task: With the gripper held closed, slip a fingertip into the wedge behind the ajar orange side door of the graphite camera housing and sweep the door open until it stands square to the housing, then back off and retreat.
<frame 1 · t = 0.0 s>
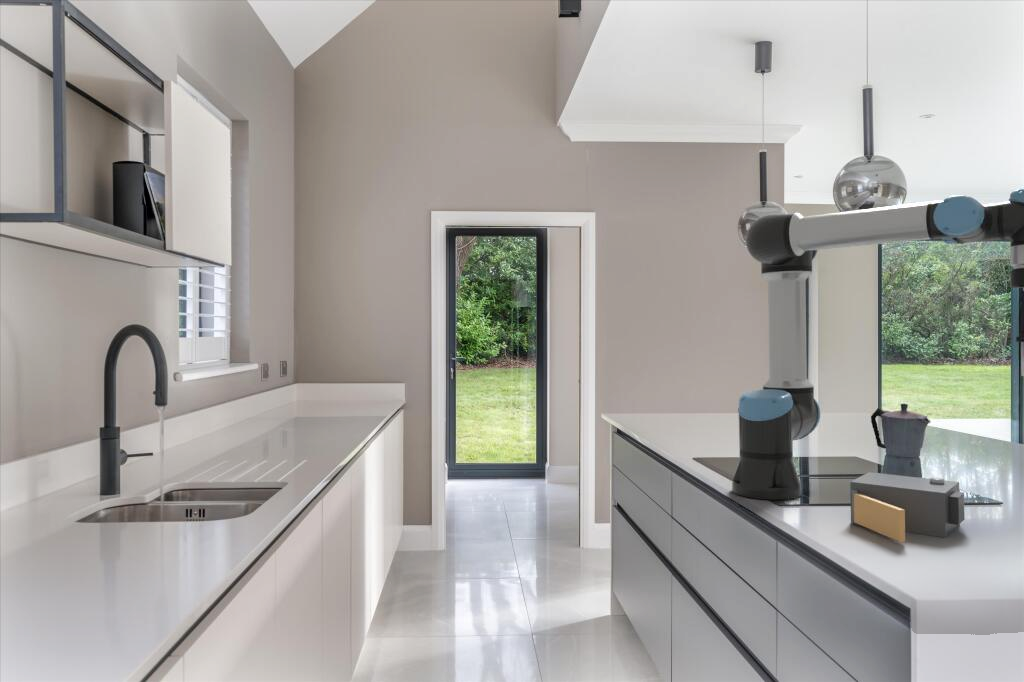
side door: (876, 515, 131), point 3 cm above the worktop, hinge at 40.0°
camera housing: (904, 523, 138), on the worktop
moka pot: (899, 488, 168), on the worktop
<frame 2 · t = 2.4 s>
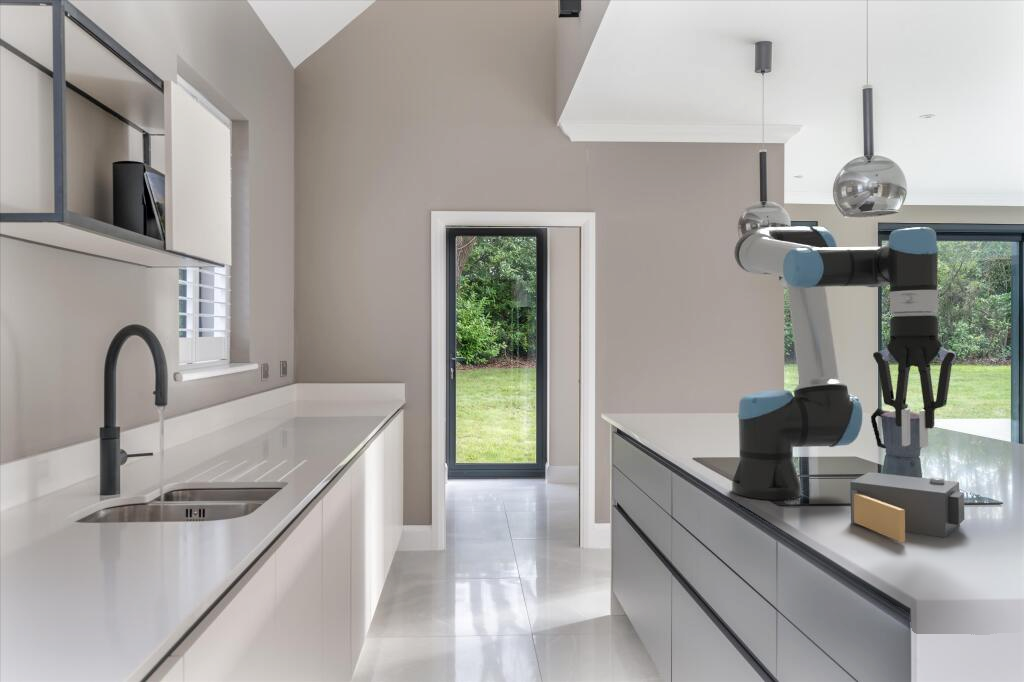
hand: (915, 445, 129), 16 cm above the worktop, fingers open, 2 cm apart
nothing on the worktop moved.
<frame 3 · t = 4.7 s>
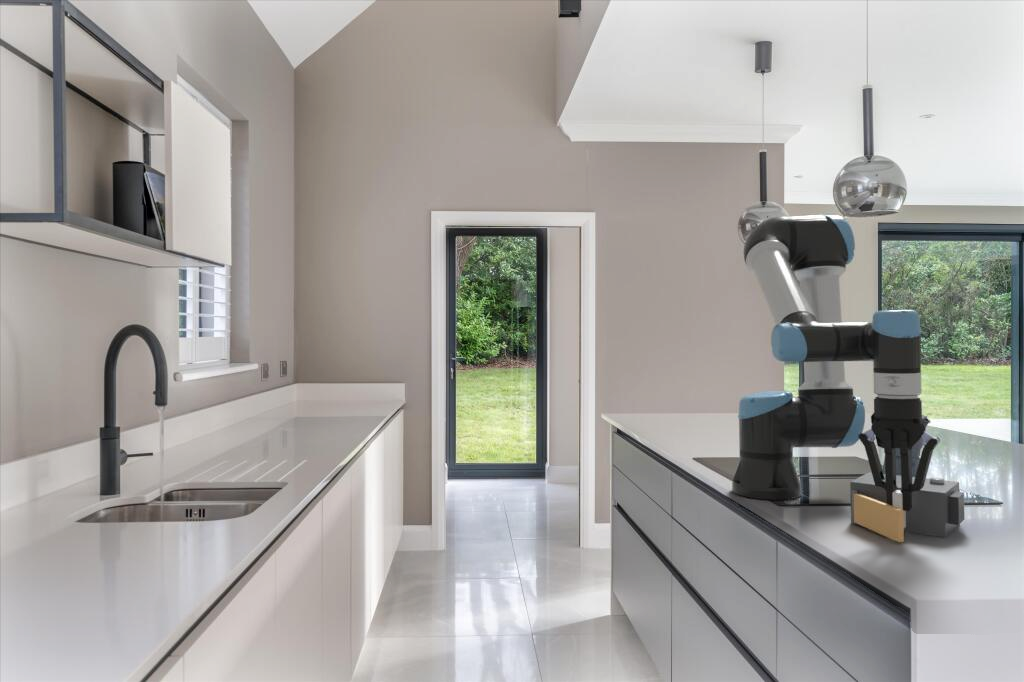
hand: (899, 527, 128), 2 cm above the worktop, fingers closed
side door: (875, 515, 131), point 3 cm above the worktop, hinge at 41.2°, touching gripper
everything else where it was.
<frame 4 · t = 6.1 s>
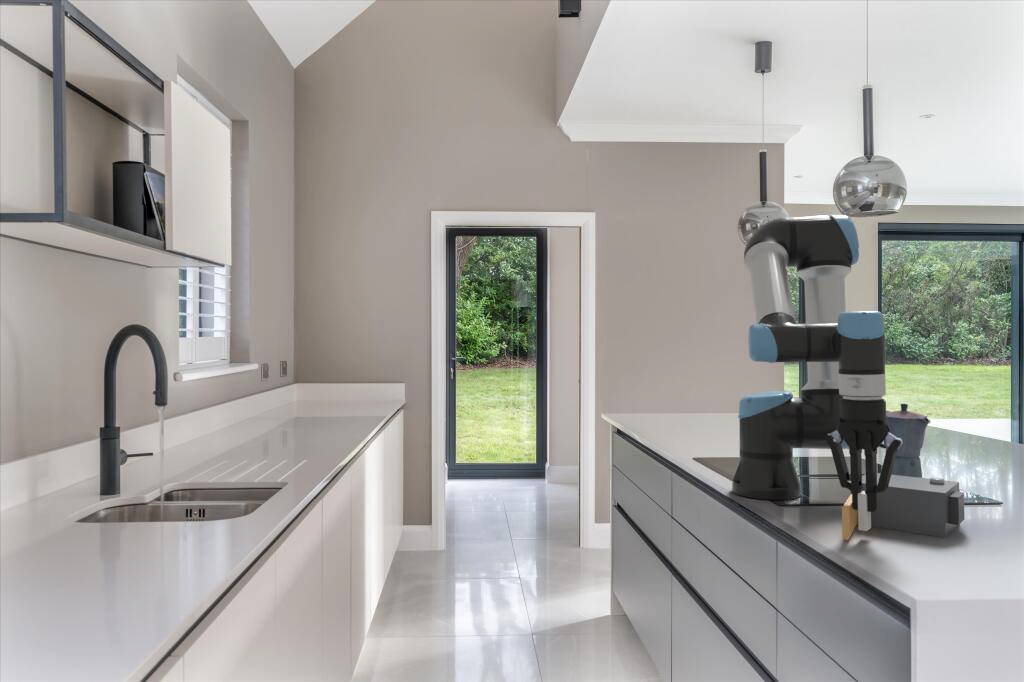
hand: (864, 528, 128), 2 cm above the worktop, fingers closed
side door: (850, 514, 132), point 3 cm above the worktop, hinge at 80.0°, touching gripper
everything else where it was.
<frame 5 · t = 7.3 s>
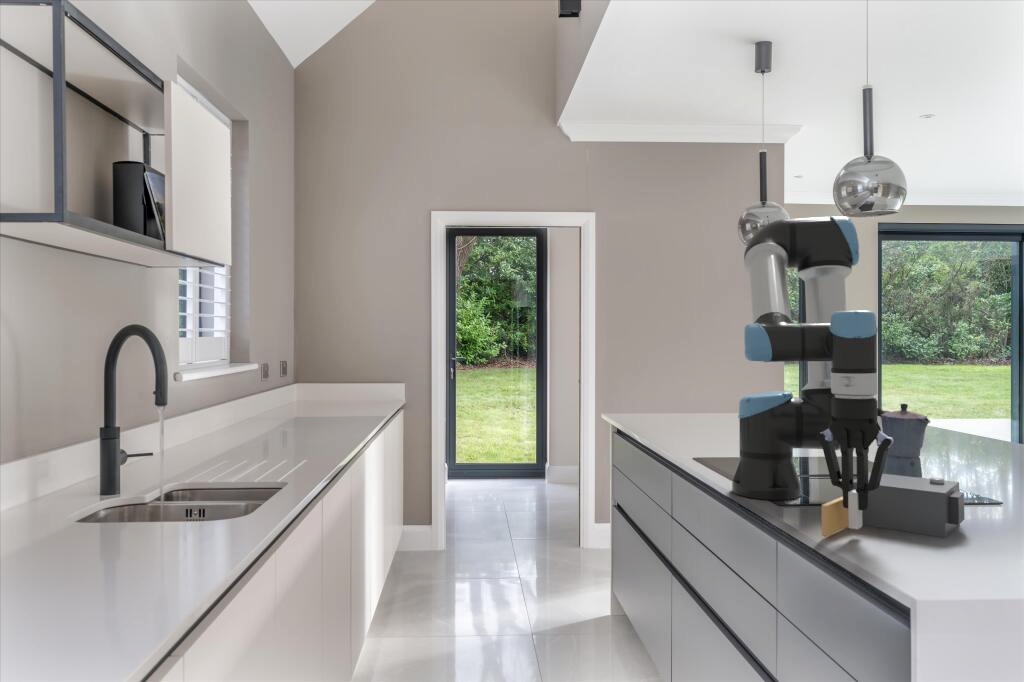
hand: (855, 527, 129), 2 cm above the worktop, fingers closed
side door: (840, 513, 133), point 3 cm above the worktop, hinge at 94.7°
everything else where it was.
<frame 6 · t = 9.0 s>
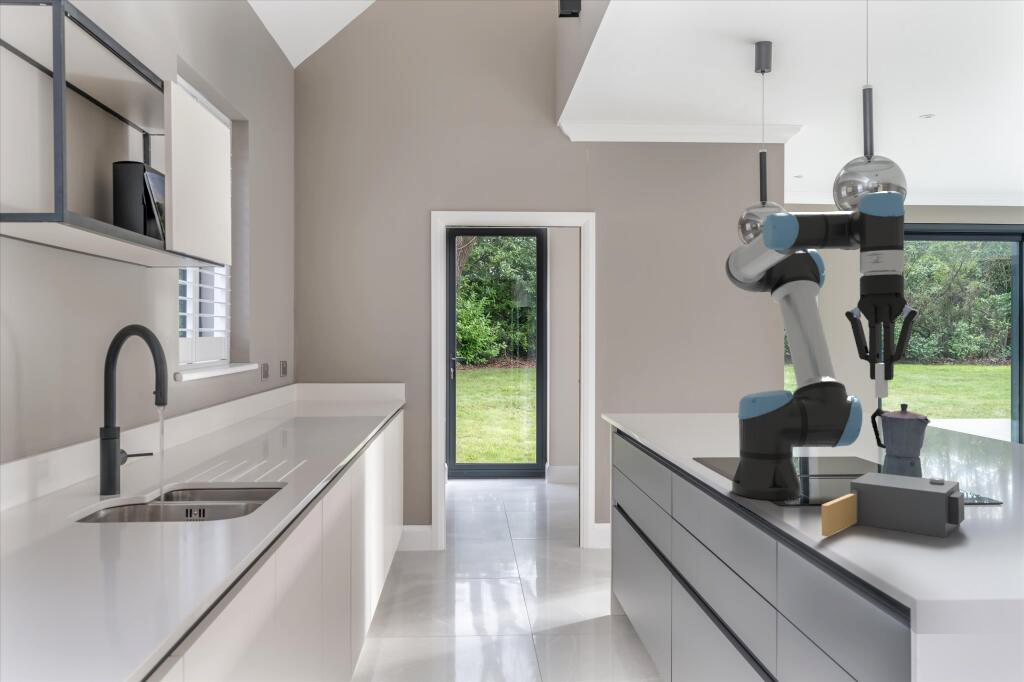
hand: (881, 396, 137), 24 cm above the worktop, fingers closed
nothing on the worktop moved.
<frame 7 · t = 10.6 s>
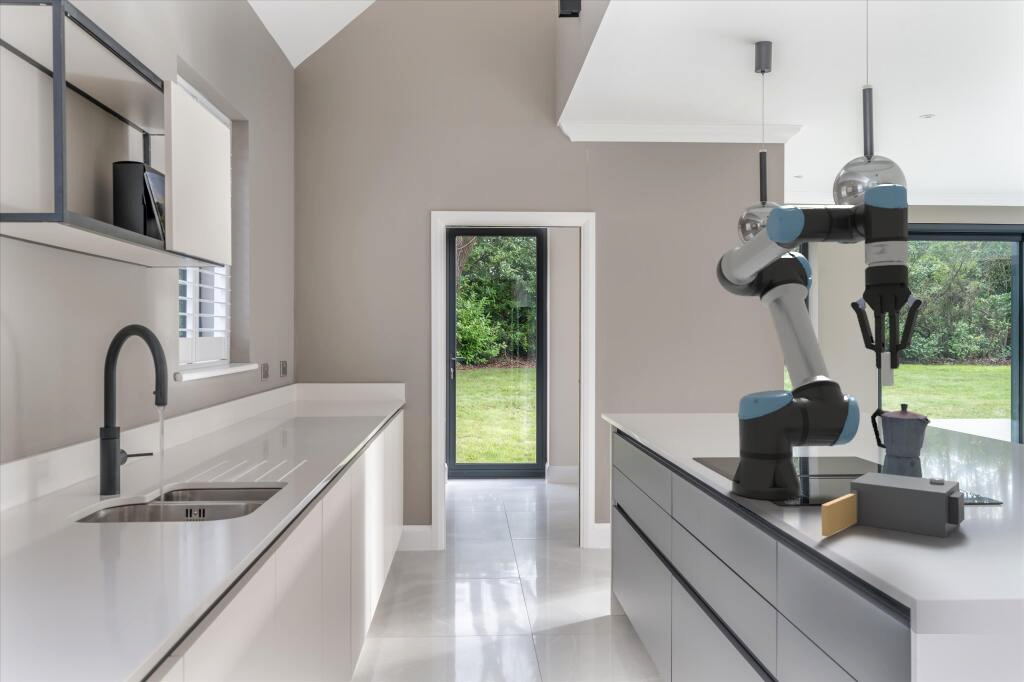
hand: (887, 385, 140), 26 cm above the worktop, fingers closed
nothing on the worktop moved.
at the end: side door at +95° (first picture: +40°) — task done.
